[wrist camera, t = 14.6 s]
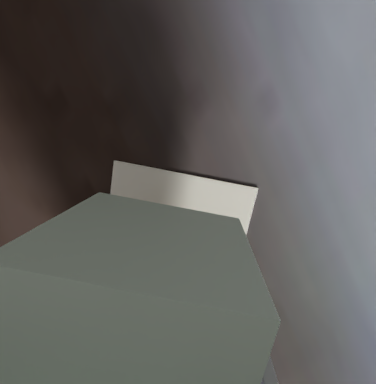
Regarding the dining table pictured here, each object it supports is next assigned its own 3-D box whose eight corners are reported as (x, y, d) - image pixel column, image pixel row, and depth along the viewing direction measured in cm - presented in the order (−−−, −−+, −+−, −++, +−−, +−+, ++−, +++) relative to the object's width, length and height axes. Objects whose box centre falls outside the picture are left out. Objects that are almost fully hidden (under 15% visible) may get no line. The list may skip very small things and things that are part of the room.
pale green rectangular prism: (239, 218, 12) (280, 321, 5) (201, 374, 14) (199, 575, 8) (99, 192, 12) (-24, 261, 5) (85, 350, 14) (-13, 529, 8)
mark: (257, 187, 17) (258, 188, 16) (225, 310, 19) (226, 312, 19) (114, 160, 17) (113, 160, 17) (101, 284, 19) (100, 286, 19)
